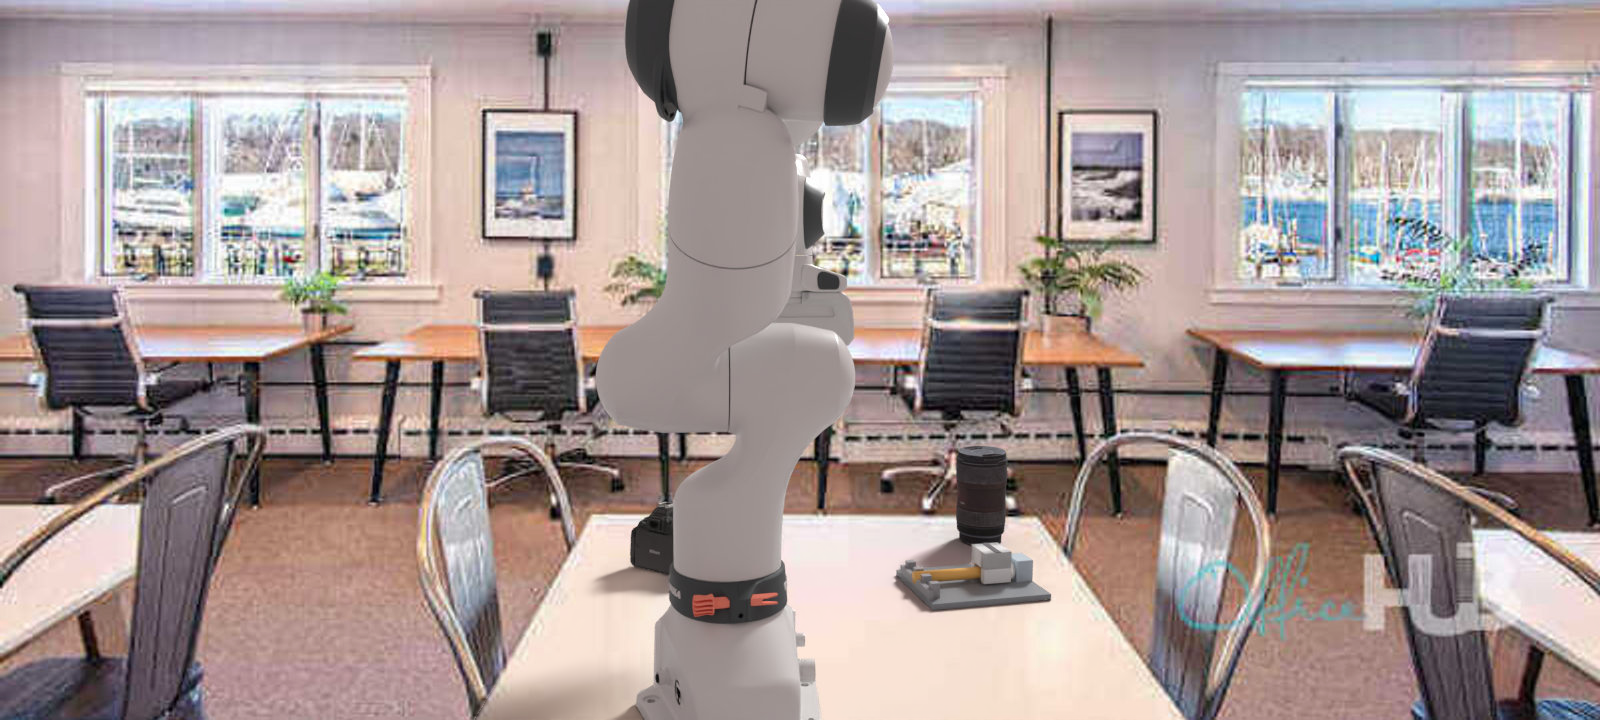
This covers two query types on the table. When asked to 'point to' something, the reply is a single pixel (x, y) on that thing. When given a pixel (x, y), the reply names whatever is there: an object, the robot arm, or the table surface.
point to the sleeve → (992, 562)
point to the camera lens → (981, 494)
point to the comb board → (971, 585)
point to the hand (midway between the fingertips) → (779, 380)
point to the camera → (654, 540)
